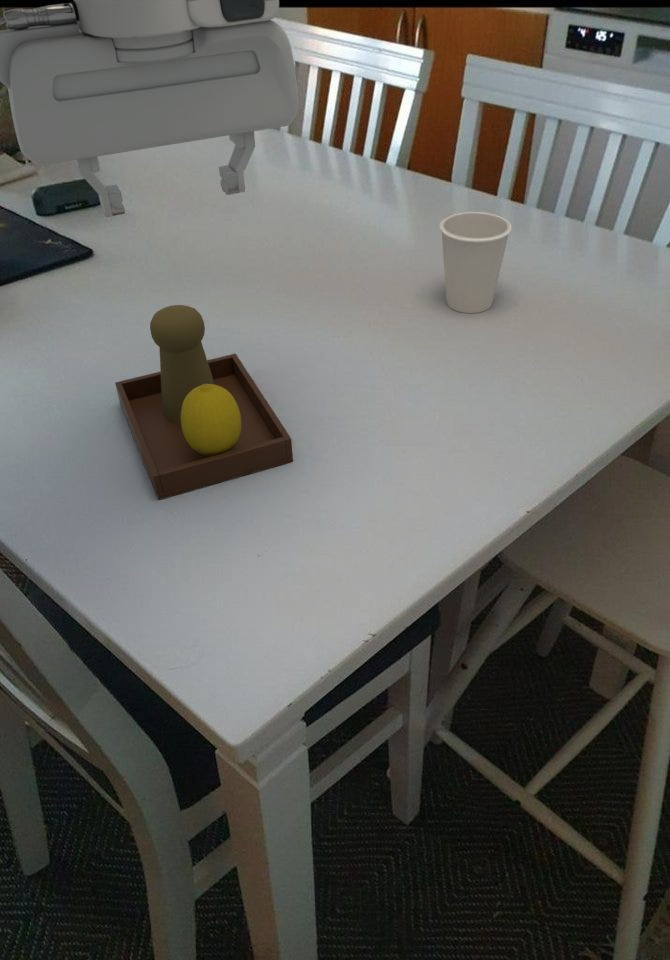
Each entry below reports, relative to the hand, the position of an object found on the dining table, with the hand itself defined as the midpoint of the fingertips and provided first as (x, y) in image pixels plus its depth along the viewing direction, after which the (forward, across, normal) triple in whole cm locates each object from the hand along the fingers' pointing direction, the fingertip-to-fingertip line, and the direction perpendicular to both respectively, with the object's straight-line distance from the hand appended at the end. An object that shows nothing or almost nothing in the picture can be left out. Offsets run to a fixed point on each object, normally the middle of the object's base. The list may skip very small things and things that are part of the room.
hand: (175, 202), depth 62 cm
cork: (+25, 0, +9) cm, 26 cm away
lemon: (+25, 0, 0) cm, 25 cm away
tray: (+25, 0, +5) cm, 26 cm away
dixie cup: (+25, +38, +17) cm, 49 cm away
